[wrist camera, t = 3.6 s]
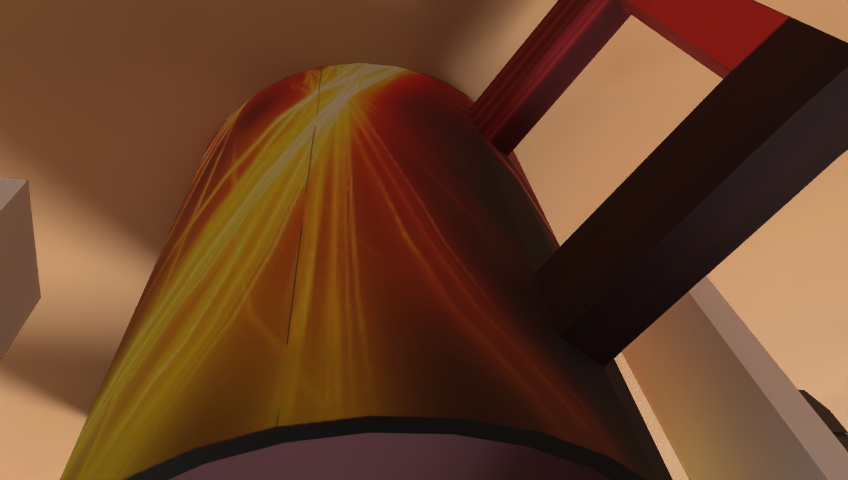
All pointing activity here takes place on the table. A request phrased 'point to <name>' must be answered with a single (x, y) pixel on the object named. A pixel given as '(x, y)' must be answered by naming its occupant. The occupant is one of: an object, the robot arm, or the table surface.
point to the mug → (448, 265)
